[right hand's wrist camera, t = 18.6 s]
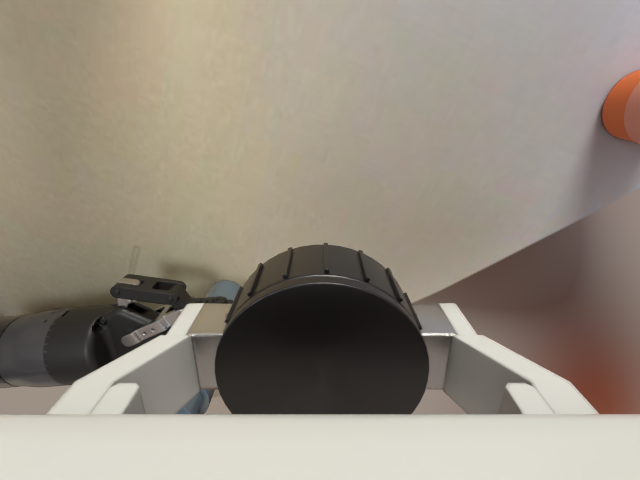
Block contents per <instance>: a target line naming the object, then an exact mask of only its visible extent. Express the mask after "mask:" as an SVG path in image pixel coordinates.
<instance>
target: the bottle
mask: <svg viewBox="0 0 640 480" xmlns="http://www.w3.org/2000/svg"><path fill="white" fill-rule="evenodd" d="M240 287H241V286H240V285H238V284H236V283H234V282H231V281H220V282H217V283H215V284H213V285H212V286H211V287H210V289H209V291H208V292H207V294H206V296H205V297H204V298H207V297H218V296H222V297H226V299H227V300H233V301H234V299H235V297H236V294H237V292H238V290H239V288H240ZM214 390H215V389H206V390H200V392H199V393H198V394H197V395H196V396H194V397H193V398H192V399H191V400H190V401H189V402H188V403H187V404H186V405H185V406H184V407H183V408H182V409H181V410H180V411H179V412H177V413H176V414H204V413H205V412H206V411H207V409H208V407H209V404H210V401H211V399H212V396H213V393H214Z"/></svg>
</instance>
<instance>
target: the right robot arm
mask: <svg viewBox="0 0 640 480" xmlns="http://www.w3.org/2000/svg"><path fill="white" fill-rule="evenodd" d="M231 306H232V304H211V303H206V304H205V303H190V304H187V305H186V306H185V308H184V309H183V311H182V312H181V314H180V315H179V317H178V318H177V319H176V321H175V322H174V324H173V325H172V327H171V328H170V330H169V331H168V333H167V334H166V335H160V336H158V337H156V338H155V339H153V340H151V341H149V342H147V343H145V344H143V345H142V346H140V347H138V348H136V349H134V350H132V351H130V352H129V353H127V354H125V355H123V356H121V357H119V358H117V359H116V360H114V361H112V362H110V363H108V364H106V365H104V366H103V367H101V368H99V369H97V370H95V371H93V372H91V373H90V374H88V375H86V376H84V377H82V378H80V379H78V380H77V381H75V382H74V383H73V384H72V385H71V386H70V387H69V389H68V390H67V391H66V392H65V393H64V394H63V395H62V396H61V397H60V399H59V400H58V401H57V402H56V403H55V404H54V405H53V406H52V408H51V409H50V410H49V411H48V412H47V413H46V414H0V480H640V414H599V413H598V412H597V411H596V410H595V409H594V408H593V407H592V406H591V404H590V403H589V402H588V401H587V400H586V399H585V398H584V397H583V396H582V395H581V393H580V392H579V391H578V390H577V389H576V388H575V387H574V386H573V385H572V383H571V382H569V381H567V380H566V379H564V378H562V377H560V376H558V375H556V374H554V373H552V372H551V371H549V370H547V369H545V368H543V367H541V366H539V365H538V364H536V363H534V362H532V361H530V360H528V359H526V358H524V357H523V356H521V355H519V354H517V353H515V352H513V351H511V350H510V349H508V348H506V347H504V346H502V345H500V344H498V343H496V342H495V341H493V340H491V339H489V338H487V337H485V336H483V335H477V333H476V332H475V331H474V329H473V328H472V326H471V325H470V324H469V322H468V321H467V319H466V318H465V316H464V315H463V314H462V312H461V311H460V309H459V308H458V307H457V305H456V304H454V303H441V304H412V306H413V309H414V311H415V313H416V315H417V317H418V319H419V322H420V324H421V326H422V328H423V329H422V330H420V332H421V334H422V337H423V339H424V342H425V344H426V347H427V351H428V356H429V376H428V382H427V386H426V389H437V390H443V391H444V392H445V393H446V394H447V395H448V396H449V397H450V398H451V399H452V400H453V401H454V402H455V403H457V404H458V405H459V406H460V407H461V408H462V409H463V410H464V411H465V412H466V413H467V414H176V413H177V412H179V411H180V410H181V409H182V408H183V407H184V406H185V405H186V404H187V403H188V402H189V401H190V400H191V399H192V398H193V397H194V396H196V395H197V394H198V393H199V392H200V390H206V389H218V387H217V383H216V377H215V356H216V350H217V347H218V344H219V341H220V339H221V336H222V334H223V332H224V329H225V327H226V325H227V323H225V322H224V321H225V319H226V317H227V315H228V312H229V310H230V308H231Z"/></svg>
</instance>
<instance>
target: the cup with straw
mask: <svg viewBox="0 0 640 480" xmlns="http://www.w3.org/2000/svg"><path fill="white" fill-rule="evenodd" d="M602 119H603V124H604V126H605V128H606V130H607V131H608V132H609V133H610V134H611V135H613V136H615V137H617V138H620V139H624V140H628V141H632V142H635V143H637V144H638V145H640V70H638V71H635V72H633V73H631V74H629V75H627V76H625V77H624V78H623V79H621V80H620V81H619V82H618V83H617V84H616V85H615V86H614V87H613V88H612V90H611V91H610V93H609V94H608V96H607V98H606V100H605V103H604V106H603V111H602Z"/></svg>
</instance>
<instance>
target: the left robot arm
mask: <svg viewBox="0 0 640 480" xmlns="http://www.w3.org/2000/svg"><path fill="white" fill-rule="evenodd" d="M110 293H111V295H112V296H113V297H115V298H117V305H116V304H109V305H98V306H87V307H77V308H60V309H55V310H48V311H43V312H39V313H35V314H28V315H17V316H7V317H0V388H7V387H19V386H30V387H51V386H63V385H72V384H73V383H74V382H75V381H77V380H78V379H80V378H82V377H84V376H86V375H88V374H90V373H91V372H93V371H95V370H97V369H99V368H101V367H103V366H104V365H106V364H108V363H110V362H112V361H114V360H116V359H117V358H119V357H121V356H123V355H125V354H127V353H129V352H130V351H132V350H134V349H136V348H138V347H140V346H142V345H143V344H145V343H147V342H149V341H151V340H153V339H155V338H156V337H158V336H160V335H166V334H167V333H168V331H169V330H170V328H171V326H172V325H173V324H174V322H175V321H176V319H177V318H178V317H179V315H180V314H181V312H182V311H183V309H184V308H185V306H186V305H187V304H190V303H205V304H206V303H211V304H232V303H233V300H227V299H226V297H222V296H218V297H207V298H194V297H192V296H190V295H189V294H188V293H187V292H186V285H185V283H184V282H182V281H176V280H168V279H161V278H154V277H146V276H139V275H131V274H128V275H126V276H125V277H124V278H122V279H121V280H120V281H119V282H117V283H116V284H115V285H114V286H113V287H112V288H111V290H110ZM137 301H143V302H151V303H158V304H165V305H163V306H160V307H158V308H156V309H153V310H152V309H150V308H148V307H145V306H143V305H141V304H139V303H136V302H137Z"/></svg>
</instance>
